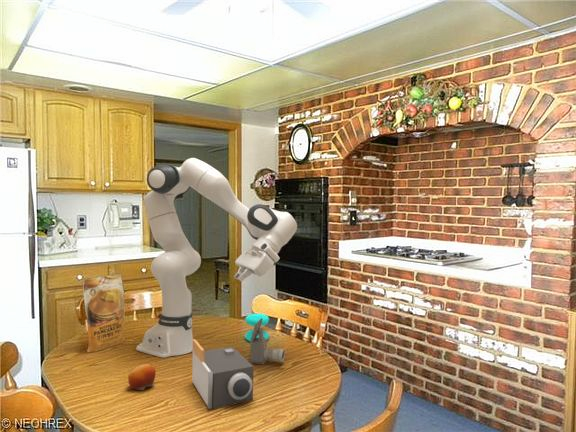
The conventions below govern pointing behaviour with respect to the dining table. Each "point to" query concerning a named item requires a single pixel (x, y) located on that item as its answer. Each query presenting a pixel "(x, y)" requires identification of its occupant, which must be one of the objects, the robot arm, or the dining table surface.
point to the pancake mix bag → (104, 311)
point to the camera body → (229, 376)
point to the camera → (263, 347)
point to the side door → (202, 374)
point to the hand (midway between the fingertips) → (237, 279)
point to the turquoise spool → (253, 320)
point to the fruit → (142, 377)
